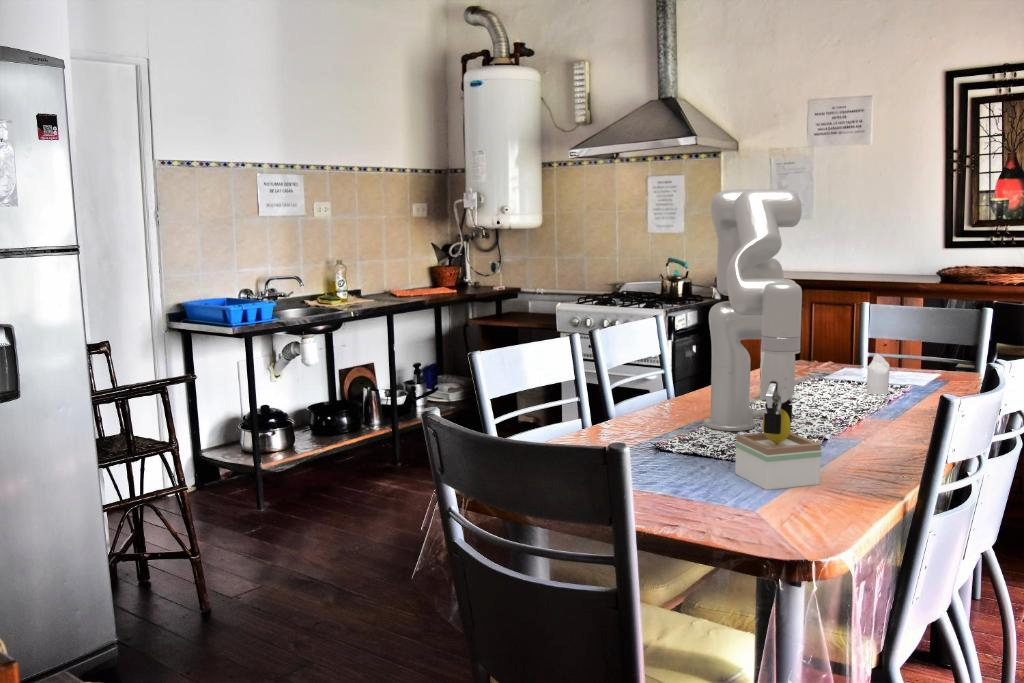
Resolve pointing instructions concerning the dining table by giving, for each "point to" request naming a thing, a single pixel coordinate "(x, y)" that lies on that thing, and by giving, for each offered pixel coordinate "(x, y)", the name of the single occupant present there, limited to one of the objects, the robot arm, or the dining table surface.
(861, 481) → the dining table surface
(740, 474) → the stand
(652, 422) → the dining table surface
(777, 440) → the lemon
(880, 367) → the white pointed cylinder
